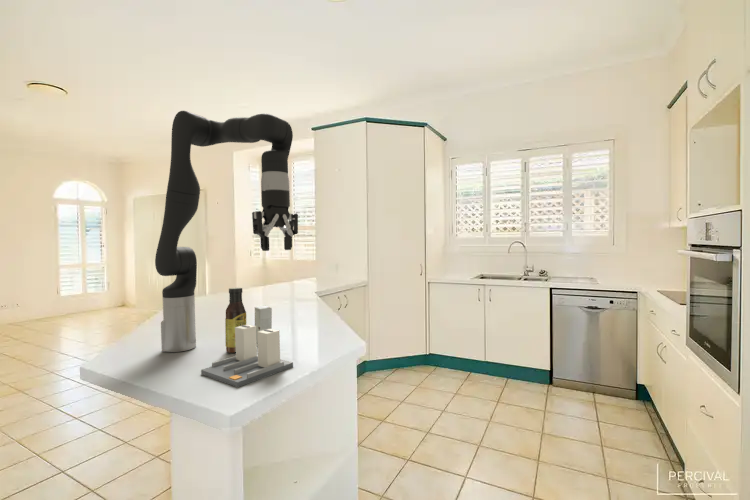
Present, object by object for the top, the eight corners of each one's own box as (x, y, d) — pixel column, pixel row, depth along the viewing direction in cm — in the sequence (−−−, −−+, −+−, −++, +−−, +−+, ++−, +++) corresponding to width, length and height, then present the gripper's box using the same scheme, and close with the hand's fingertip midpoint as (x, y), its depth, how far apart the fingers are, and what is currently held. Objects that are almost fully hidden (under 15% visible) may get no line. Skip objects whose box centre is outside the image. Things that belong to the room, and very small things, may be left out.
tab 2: (270, 361, 100) (269, 328, 100) (280, 364, 98) (279, 329, 98) (258, 365, 97) (257, 331, 97) (267, 368, 95) (266, 332, 95)
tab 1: (248, 355, 106) (247, 323, 106) (256, 358, 104) (256, 325, 104) (235, 359, 103) (234, 326, 103) (244, 361, 101) (243, 328, 100)
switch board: (256, 357, 110) (256, 349, 110) (293, 366, 100) (292, 358, 100) (201, 374, 96) (200, 365, 96) (237, 387, 87) (237, 378, 87)
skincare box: (254, 341, 128) (253, 306, 128) (266, 339, 131) (265, 305, 130) (259, 345, 123) (258, 308, 123) (273, 342, 126) (272, 307, 125)
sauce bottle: (239, 354, 113) (238, 289, 113) (221, 353, 114) (219, 289, 114) (251, 348, 119) (249, 286, 119) (233, 347, 121) (231, 286, 120)
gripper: (286, 194, 109) (288, 249, 110) (244, 188, 98) (246, 251, 98) (304, 191, 105) (305, 249, 105) (262, 185, 93) (263, 251, 94)
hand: (277, 250), depth 102 cm, fingers open, 7 cm apart
